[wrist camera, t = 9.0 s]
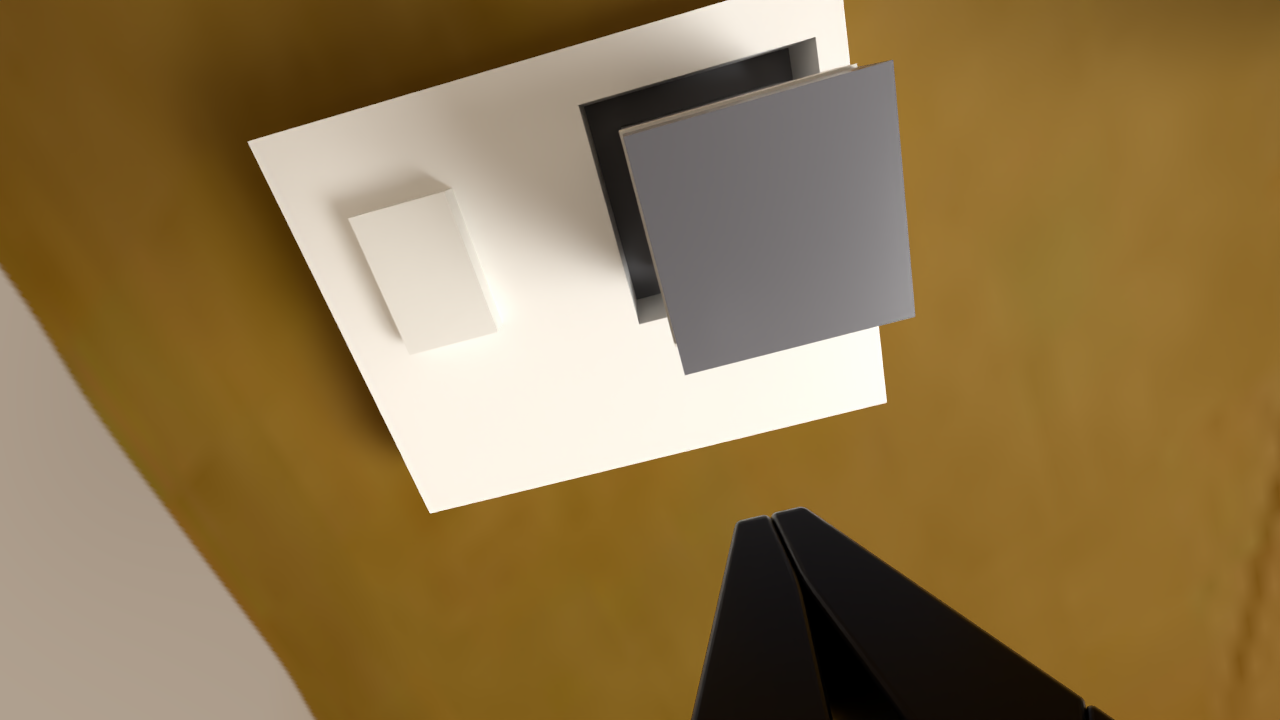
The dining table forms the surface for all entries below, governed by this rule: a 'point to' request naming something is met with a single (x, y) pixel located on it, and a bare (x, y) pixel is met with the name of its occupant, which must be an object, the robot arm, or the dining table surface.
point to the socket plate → (545, 258)
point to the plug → (776, 214)
